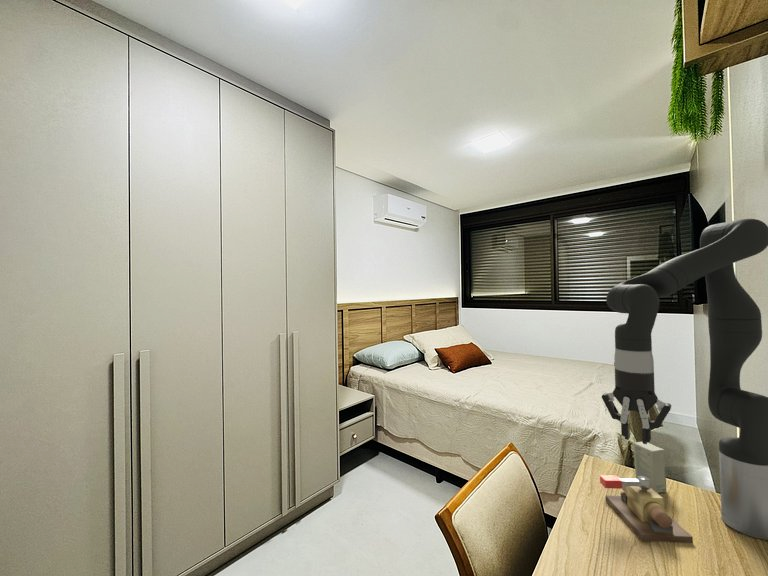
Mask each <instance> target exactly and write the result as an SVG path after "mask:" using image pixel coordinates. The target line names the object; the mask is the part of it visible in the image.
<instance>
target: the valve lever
mask: <svg viewBox="0 0 768 576" xmlns="http://www.w3.org/2000/svg"><path fill="white" fill-rule="evenodd" d="M637 478H638V479H636V478H627V477H626V478H624V477H623V478H622V477H621V478H620V477H618V476H617V475H610V474H608V475H607V474H600V475H599V483H600V484H601V485H602V487H604V489H617V490H618V489H620V490H621V489H622V486H639V487H640V488H642V489H646V490H649V489H651V485H650V479H649V478H647V477H644V476H638V477H637Z"/></svg>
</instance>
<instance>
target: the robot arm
mask: <svg viewBox="0 0 768 576" xmlns="http://www.w3.org/2000/svg"><path fill="white" fill-rule="evenodd" d="M767 247H768V224H766V223H765V222H763V221H762V220H760V219H756V218H742V219H736V220H731V221H725V222H719V223H715V224H711V225H708V226H707V227H705V228H704V229H703V230H702V232H701V235H700V238H699V248H698V249H695V250H693V251H690V252H688V253H685V254H681V255H679V256H675V257H674V258H672V259H669V260H667V261H664V262H663V263H661V264H659V265H658V266H655V267H654V268H653V269H651V270H649V271H647V272H646V273H643V274H641V275H638V276H635V277H633V278H630V279H627V280H625V281H622V282H620V283H618V284H616V285H615V286H613V287H612V288H611V289H610V290H609V291H608V293H607V294H606V300H605V301H606V304H607V306H608V308H609V309H610V310H611V311H613V312H616V313H617V314H618V313H619V314H627V315H628V317H627V320H626V323H619V324H618V325H616V327H615V328H614V330H615V331H614V347H615V348H614V349H615V350H614V359H613V360H614V362H613V367H614V384H615V385H614V386H615V387H614V389H613V391H612V392H604V393H602V395H601V399H602V401H603V403H604V404H605V407H606V409H607V411H608V413H609V414H610V416H611V417H610V418H612V419H613V420H617V421H619V422H620V426H621V436H622V437H623V438H624V440H626V441H629V440H630V438H631V433H630V432H631V428H630V427H631V423H630V421H629V418H630V417H629V416H630V412H632V411H633V412H637V413H639V417H640V419H641V423H642V428H641V432H642V433H641V434H642V436H641V437H642V441H643V444H647V443H650V442H651V440H652V429H654V428H655V429H659V428H660V427H661V425H662V423H663V422H664V420H665V419H666V417H667V416H668V414H669V413H670V411H671V409H672V404H671V403H670V402H669V403H668V402H663V401H662V400H660V399H659V398H658V396H657V394H656V392H655V391H656V390H655V365H654V364H655V363H654V360H655V359H654V356H653V346H652V332H653V329H654V326H655V322H656V320H657V316H658V313H659V309H660V298H665V297H666V298H667V297H669V296H671V295H673V294H675V293H676V292H678V291H680V290H682V289H683V288H685V287H687V286H689V285H690V284H692V283H694V282H696V281H698V280H699V279H701V278H703V277H705V283H706V284H705V286H706V295H707V317H708V318H707V323H708V324H707V325H708V335H709V354H710V355H709V356H710V358H709V359H710V364H709V365H710V367H709V381H708V391H707V392H708V393H707V394H708V395H707V403H708V405H707V406H708V409H709V412H710V413H711V415H712V416H713V417H714V418H715V419H717V420H718V421H721V422H723V423H725V424H727V425H730V426H734V427H736V428H739V437H738V436H737V437H734V436H732V437H731V436H729V437H728V436H727V437H723V438H720V439H719V442H718V453H719V454H718V457H719V482H720V483H719V485H720V512H721V513H720V514H721V518H720V519H722V522H724V524H726V525H727V526H728V527H730V528H731V529H733V530H734V531H737V532H738V533H742V535H743V534H744V535H746V536H748V537H751V538H755V539H760V540H767V541H768V396H766V395H763V394H759V393H756V392H751V391H747V390H744V389H742V388H741V371H742V368H743V366H744V364H745V363H746V361H747V360H748V359H749V357H751V355H752V354H753V353H754V352H755V351H756V350H757V348H758V346H759V345H760V344H761V341H762V339H763V325H762V313H761V309H760V307H759V306H758V305H757V303H756V301H755V300H754V299H753V298H752V297H751V295H750V294H749V293H748V292H747V291H746V289H744V287H743V286H742V285H741V283H740V282H739V280H738V279H737V276H736V274H735V273H736V272H735V268H734V263H737V262H739V261H743V260H745V259H748V258H750V257H753V256H756V255H758V254H760V253H762V252H763V251H764V250H766V249H767ZM615 400H616V401H617V402H618V403H619V404H620V406H621V412H619V410H618V408H617V407H616V404H615V402H614V401H615ZM654 405H657V409H656V410H657V411H659V413H658V414H657V416H656V418H655V419H654V420H651V417H650V412H649V411H650V409H651V408H653V406H654Z"/></svg>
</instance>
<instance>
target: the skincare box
mask: <svg viewBox="0 0 768 576" xmlns="http://www.w3.org/2000/svg"><path fill="white" fill-rule="evenodd" d="M633 455H634V456H633V458H634V471H635V473H634V474H635V479H638V478H637V477H638V476H644V477H647V478H649V479H650V485H651V488H652V489H653V490H654V491H655V492H656V493H657V494H659V493H666V492H667V491H668V489H667V479H666V463H665V461H666V460H665V449H664V448H662V447H659V446H657V445H655V444H652V443H650V442H648V443H647V444H643V440H642V441H636V442H635V441H634V442H633Z"/></svg>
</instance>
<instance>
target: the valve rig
mask: <svg viewBox="0 0 768 576" xmlns="http://www.w3.org/2000/svg"><path fill="white" fill-rule="evenodd" d="M605 502H606V503H607V504H608V506H610V507H611V509H613V511H614V512H615V513H616V514H617V515H618V516H619V517H620V518H621V519H622V521H623V522H624V523H625V524H626V526H628V527H629V528H630V529H631V530H632V532H633V533H634V534H635V535H636V536H637V537H638V539H639V540H640V541H641V542H653V543H654V542H656V543H674V544H675V543H677V544H678V543H679V544H693V542H694V538H693V536H692V535H691V534H690V533H689V532H688V531H687V530H686V529H685V528H683V527H682V526H681V525H680V524H679V523H678V522H676V520H675V519H673V518H672V517H671V516H670V515H669V514H668V513H667V511H666V509H665V508H664V497H663V496H661V495H660V494H659V493H656V492H655V491H654V490H653V489H652V488H651V489H649V490H646V489H642V488H640V487H639V486H622V492H620V495H610V494H609V495H605Z"/></svg>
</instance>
